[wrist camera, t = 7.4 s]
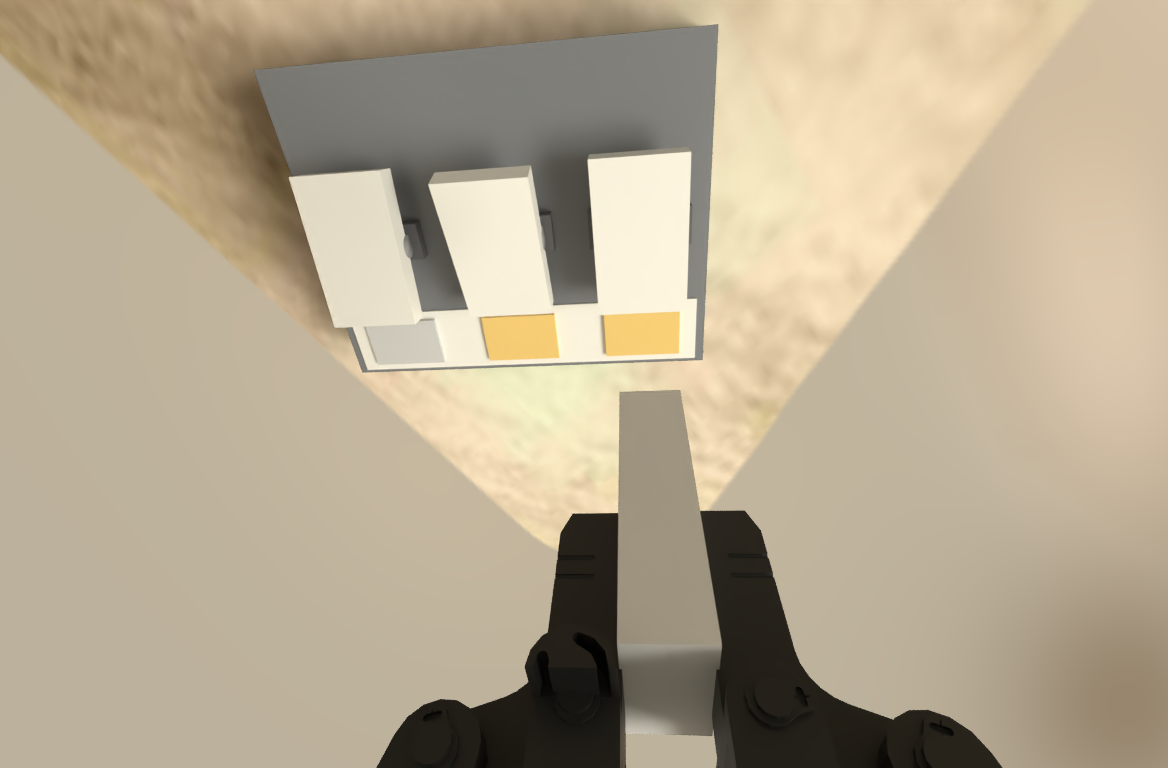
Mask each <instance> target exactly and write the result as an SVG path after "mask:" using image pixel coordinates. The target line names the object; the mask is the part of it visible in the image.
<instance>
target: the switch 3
mask: <svg viewBox="0 0 1168 768" xmlns="http://www.w3.org/2000/svg"><path fill="white" fill-rule="evenodd" d="M588 172H589V186H590V200H591V213H592V227H593V241H594V255H595V268H596V282H597V296H598V309H599V315H614V314H636V313H658V312H679V311H687V283H688V249H689V215H690V181H691V150H690V148H689V147H679V148H666V149H653V150H640V151H627V152H614V153H601V154H589V156H588Z"/></svg>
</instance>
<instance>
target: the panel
mask: <svg viewBox="0 0 1168 768" xmlns="http://www.w3.org/2000/svg"><path fill="white" fill-rule="evenodd" d="M717 43H718V24H716V25H706V26H696V27H686V28H676V29H666V30H655V31H645V32H635V33H625V34H615V35H605V36H594V37H584V38H574V39H564V40H554V41H544V42H533V43H523V44H513V45H503V46H493V47H483V48H472V49H462V50H452V51H442V52H432V53H422V54H412V55H401V56H391V57H381V58H371V59H361V60H351V61H340V62H330V63H320V64H310V65H300V66H290V67H279V68H269V69H259V70H254V73H255V76H256V79H257V81H258V84H259V87H260V90H261V92H262V95H263V98H264V101H265V104H266V106H267V109H268V112H269V115H270V117H271V120H272V123H273V126H274V129H275V131H276V134H277V137H278V140H279V142H280V145H281V148H282V151H283V153H284V156H285V159H286V162H287V165H288V167H289V170H290V173H291V176H292V177H293V176H299V175H307V174H320V173H333V172H346V171H359V170H372V169H385V168H390V170H391V175H392V179H393V184H394V188H395V193H396V197H397V202H398V206H399V211H400V215H401V220H402V224H403V229H404V233H405V235H408V236H409V237H410V238H411V240H412V244H413V256H412V258H410V260H411V265H412V269H413V274H414V278H415V283H416V287H417V292H418V296H419V301H420V305H421V310H422V314H423V317H422V318H421V319H420V320H419V321H418V322H417V323H416V324H409V325H387V326H366V327H346V328H347V331H348V334H349V336H350V339H351V342H352V345H353V347H354V350H355V353H356V356H357V359H358V361H359V364H360V367H361V370H362V372H389V371H417V370H444V369H471V368H498V367H525V366H552V365H580V364H607V363H634V362H661V361H688V360H702V358H703V337H704V316H705V295H706V274H707V253H708V232H709V211H710V190H711V169H712V148H713V127H714V106H715V85H716V64H717ZM679 147H689V148H690V150H691V181H690V215H689V249H688V283H687V311H679V312H658V313H636V314H614V315H599V309H598V296H597V282H596V268H595V255H594V241H593V227H592V213H591V200H590V186H589V172H588V156H589V154H601V153H614V152H627V151H640V150H653V149H666V148H679ZM528 165H531V170H532V175H533V181H534V187H535V193H536V199H537V205H538V211H539V217H540V223H541V226H543V227H544V231H545V239H546V247H545V252H546V258H547V264H548V270H549V276H550V282H551V288H552V294H553V299H554V300H553V308H552V313H550V314H528V315H507V316H485V317H471V316H470V313H469V310H468V307H467V304H466V301H465V298H464V295H463V291H462V288H461V285H460V282H459V279H458V276H457V273H456V270H455V267H454V264H453V260H452V257H451V254H450V251H449V248H448V245H447V242H446V239H445V236H444V232H443V229H442V226H441V223H440V220H439V217H438V214H437V211H436V208H435V205H434V201H433V198H432V195H431V192H430V189H429V186H428V184H429V182H430V180H431V178H432V176H433V174H434V172H448V171H461V170H474V169H488V168H501V167H514V166H528Z"/></svg>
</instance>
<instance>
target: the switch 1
mask: <svg viewBox="0 0 1168 768" xmlns="http://www.w3.org/2000/svg"><path fill="white" fill-rule="evenodd" d="M289 180H290V183H291V187H292V190H293V193H294V196H295V200H296V203H297V206H298V209H299V213H300V216H301V219H302V223H303V226H304V229H305V232H306V236H307V239H308V242H309V246H310V249H311V252H312V255H313V259H314V262H315V265H316V268H317V272H318V275H319V278H320V282H321V285H322V288H323V291H324V295H325V298H326V301H327V304H328V308H329V311H330V314H331V318H332V321H333V324H334V327H335V328H344V327H366V326H387V325H409V324H416V323H417V322H418V321H419V320H420V319H421V318H422V317H423V314H422V310H421V305H420V301H419V296H418V292H417V287H416V283H415V278H414V274H413V269H412V265H411V260H410V258H412V256H413V244H412V240H411V238H410V237H409V236H408V235H405V233H404V229H403V224H402V220H401V215H400V211H399V206H398V202H397V197H396V193H395V188H394V184H393V179H392V175H391V170H390V168H385V169H372V170H359V171H346V172H333V173H320V174H307V175H299V176H293V177H289Z"/></svg>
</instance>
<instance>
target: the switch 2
mask: <svg viewBox="0 0 1168 768" xmlns="http://www.w3.org/2000/svg"><path fill="white" fill-rule="evenodd" d="M428 186H429V189H430V192H431V195H432V198H433V201H434V205H435V208H436V211H437V214H438V217H439V220H440V223H441V226H442V229H443V232H444V236H445V239H446V242H447V245H448V248H449V251H450V254H451V257H452V260H453V264H454V267H455V270H456V273H457V276H458V279H459V282H460V285H461V288H462V291H463V295H464V298H465V301H466V304H467V307H468V310H469V313H470V316H471V317H485V316H507V315H528V314H550V313H552V308H553V300H554V299H553V294H552V288H551V282H550V276H549V270H548V264H547V258H546V252H545V247H546V239H545V231H544V227H543V226H541V223H540V217H539V211H538V205H537V199H536V193H535V187H534V181H533V175H532V170H531V165H528V166H514V167H501V168H488V169H474V170H461V171H448V172H434V174H433V176H432V178H431V180H430V182H429V184H428Z"/></svg>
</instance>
